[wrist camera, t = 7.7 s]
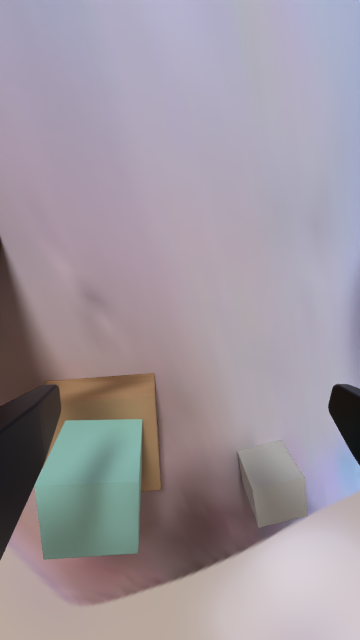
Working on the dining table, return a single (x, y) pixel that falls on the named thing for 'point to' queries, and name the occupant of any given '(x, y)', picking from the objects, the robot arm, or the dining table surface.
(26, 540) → the dining table surface
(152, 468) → the tan flat block
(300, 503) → the grey cube
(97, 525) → the teal cube
